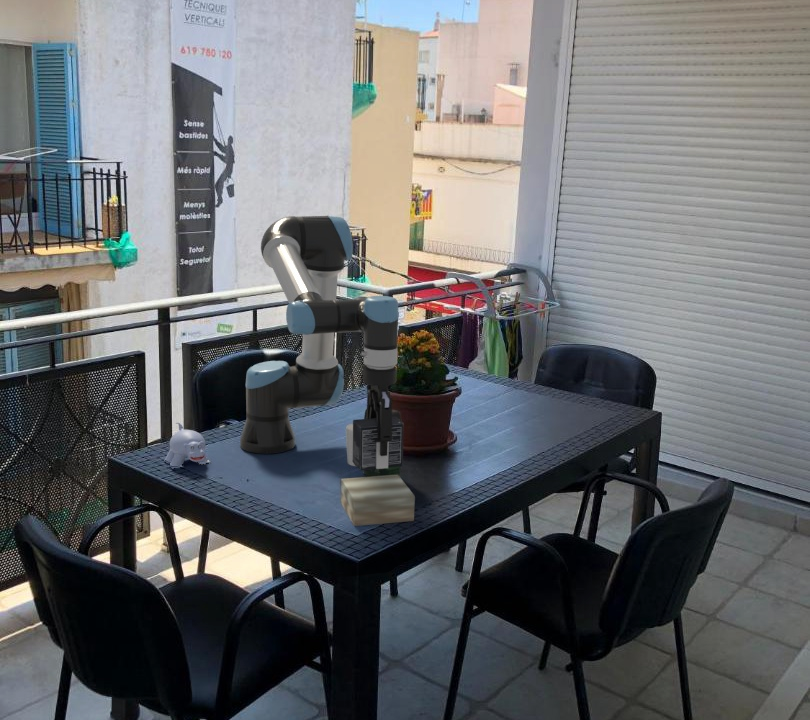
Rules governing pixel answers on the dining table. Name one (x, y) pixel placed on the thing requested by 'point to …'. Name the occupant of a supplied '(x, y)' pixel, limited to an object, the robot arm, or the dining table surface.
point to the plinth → (377, 500)
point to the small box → (366, 443)
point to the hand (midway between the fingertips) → (377, 462)
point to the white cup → (349, 444)
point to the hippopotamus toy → (186, 447)
